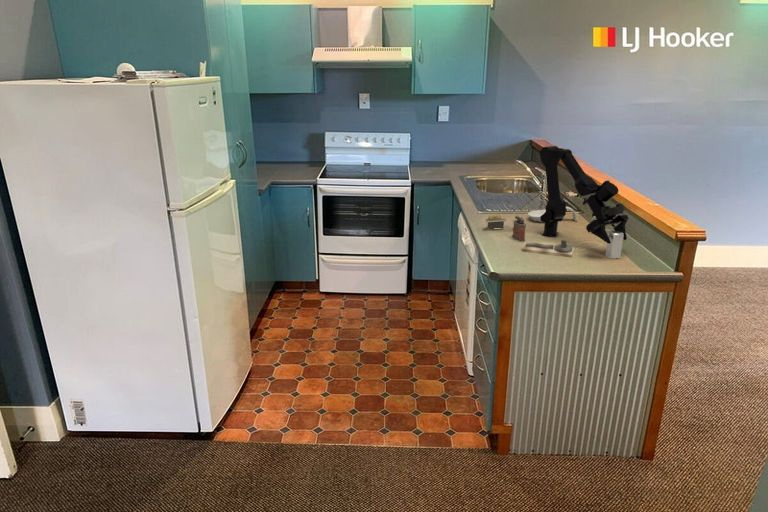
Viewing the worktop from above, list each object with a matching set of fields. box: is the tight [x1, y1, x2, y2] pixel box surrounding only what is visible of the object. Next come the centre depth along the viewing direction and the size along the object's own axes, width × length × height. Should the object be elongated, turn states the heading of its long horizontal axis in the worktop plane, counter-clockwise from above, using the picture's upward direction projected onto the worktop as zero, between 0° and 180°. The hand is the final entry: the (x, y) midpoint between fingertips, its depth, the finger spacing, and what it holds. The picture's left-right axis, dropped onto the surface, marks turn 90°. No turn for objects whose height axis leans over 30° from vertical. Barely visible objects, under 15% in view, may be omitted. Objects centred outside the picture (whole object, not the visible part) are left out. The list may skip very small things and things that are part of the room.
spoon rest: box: [527, 206, 579, 222], centre depth 268 cm, size 24×12×7 cm, turn 89°
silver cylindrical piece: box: [604, 230, 624, 259], centre depth 218 cm, size 6×6×10 cm
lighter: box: [511, 215, 527, 243], centre depth 240 cm, size 8×3×10 cm, turn 17°
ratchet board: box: [520, 239, 575, 258], centre depth 226 cm, size 20×10×5 cm, turn 67°
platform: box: [485, 215, 508, 230], centre depth 255 cm, size 12×18×7 cm, turn 103°
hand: (617, 241), depth 216 cm, fingers open, 9 cm apart
